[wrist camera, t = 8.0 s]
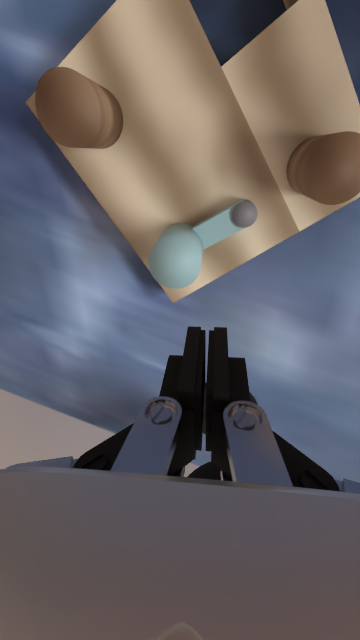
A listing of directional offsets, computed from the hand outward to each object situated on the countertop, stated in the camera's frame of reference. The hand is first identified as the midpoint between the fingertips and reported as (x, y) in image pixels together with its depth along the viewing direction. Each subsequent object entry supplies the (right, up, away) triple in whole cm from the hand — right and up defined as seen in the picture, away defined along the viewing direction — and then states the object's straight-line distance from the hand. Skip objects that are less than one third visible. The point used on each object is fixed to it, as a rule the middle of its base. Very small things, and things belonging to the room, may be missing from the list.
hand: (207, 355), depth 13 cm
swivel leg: (+1, +9, +13) cm, 16 cm away
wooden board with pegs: (+1, +17, +12) cm, 21 cm away
